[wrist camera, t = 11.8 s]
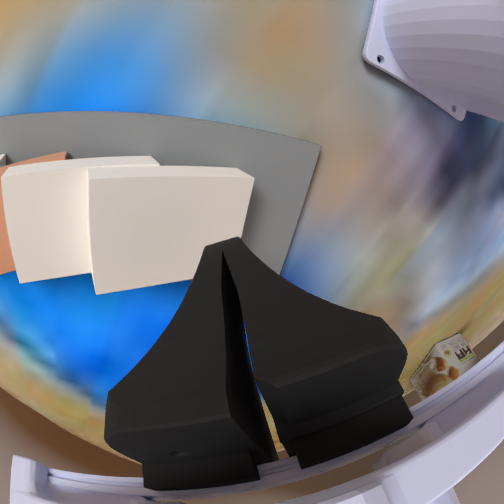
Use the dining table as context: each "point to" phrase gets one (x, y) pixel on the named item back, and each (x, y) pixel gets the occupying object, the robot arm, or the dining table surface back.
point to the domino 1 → (3, 259)
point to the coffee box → (443, 365)
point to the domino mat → (183, 159)
